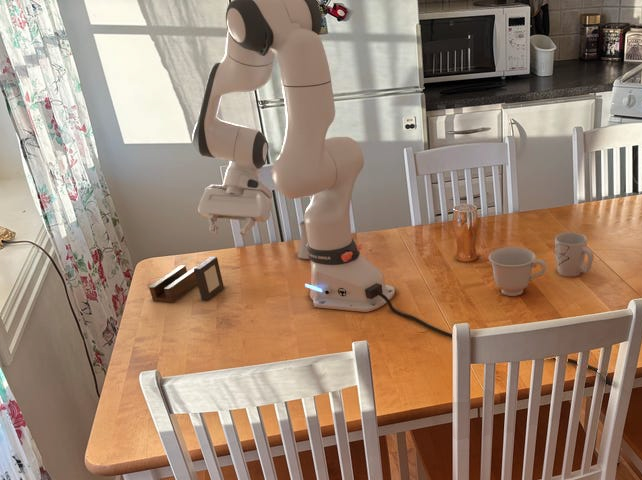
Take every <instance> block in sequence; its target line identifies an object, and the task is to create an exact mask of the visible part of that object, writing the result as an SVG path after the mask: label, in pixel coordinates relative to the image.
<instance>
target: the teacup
mask: <svg viewBox="0 0 642 480" xmlns="http://www.w3.org/2000/svg"><path fill="white" fill-rule="evenodd" d="M488 260H489V261H490V262H491V266H492V274H493V279H494V282H495V285H496V287H498V288H499V289H501V294H503V295H505V296H506V297H507V296H508V297H516V296H520V295H522V294H523V293H524V289H525V288H527V287H528V285H529V284H530V282H531V281H532V280H533V279H535V278H539V277H541V276H543V275H544V274H545V273H546V270H547V264H546V262H545V261H544V260H543V259H541V258H540V259H539V258H538V259H537V255H536V254H535V252H534V251H532V250H530V249H529V248H525V247H521V246H520V247H519V246H506V247H501V248H496V249H495V250H493V251H492V252H490V253H489V254H488ZM534 261H535V262H534ZM537 265H540V266H541V267H542V270H541V271H539V272H536V273H534V274H532V269H536V268H537Z"/></svg>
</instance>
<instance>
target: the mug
mask: <svg viewBox="0 0 642 480" xmlns="http://www.w3.org/2000/svg"><path fill="white" fill-rule="evenodd" d="M587 244H588V237H587V236H586V235H585V234H582V233H579V232H574V231H573V232H572V231H568V232H566V231H565V232H561V233H559V234H557V235H555V238H554V247H555V251H554V252H555V260H556V267H557V271H558V274H559V275H560V276H563V277H565V278H573V277H578V276H579V275H581V273H584V274H587V273H589V272H590V271H591V269H592V265H593V262H594V252H593V251H592V250H591V249H590V248H587ZM586 255H587V262H586V266H585V267H584V262H585V258H586Z"/></svg>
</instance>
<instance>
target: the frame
mask: <svg viewBox="0 0 642 480" xmlns="http://www.w3.org/2000/svg"><path fill="white" fill-rule="evenodd" d="M194 267H195V268H194ZM194 267H193V268H194V272H195V276H196V280H197V289H198V292H199V295H200V299H201V301H204V302H205V301H206V302H208V301H209V300H210V299H212V298H213V297H215V296H216V295H217V294H218V293H220V292H221V291H222V290H223V289H225V286H224V281H223V276H222V272H221V268H220V263H219V260H218V257H217V256H209V257H208V258H207V259H205V260H204V261H202V262H201V263H199V264H198V265H197V266H194Z"/></svg>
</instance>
